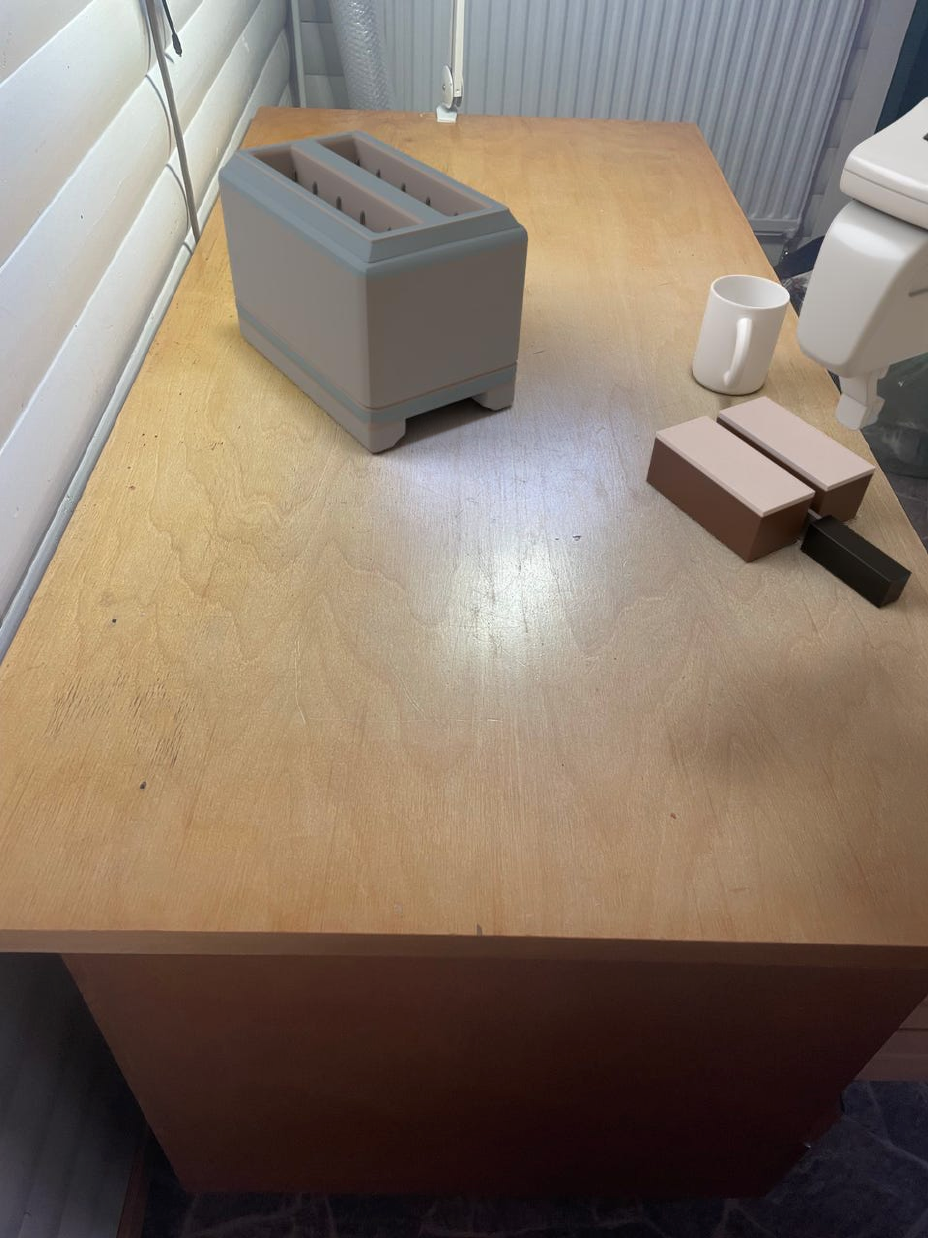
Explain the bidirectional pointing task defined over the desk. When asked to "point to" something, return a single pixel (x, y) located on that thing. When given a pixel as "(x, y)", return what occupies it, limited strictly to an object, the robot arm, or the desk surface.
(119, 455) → the desk surface
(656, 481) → the cake
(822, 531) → the knife
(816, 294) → the robot arm
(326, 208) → the toaster
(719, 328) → the mug
